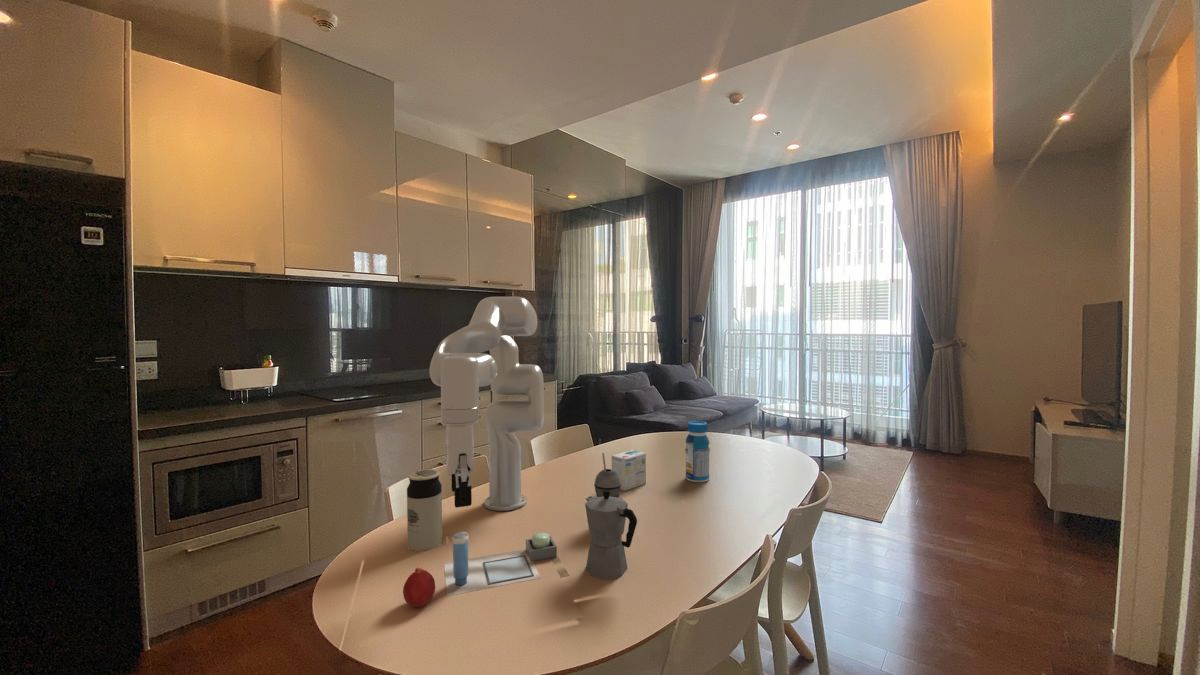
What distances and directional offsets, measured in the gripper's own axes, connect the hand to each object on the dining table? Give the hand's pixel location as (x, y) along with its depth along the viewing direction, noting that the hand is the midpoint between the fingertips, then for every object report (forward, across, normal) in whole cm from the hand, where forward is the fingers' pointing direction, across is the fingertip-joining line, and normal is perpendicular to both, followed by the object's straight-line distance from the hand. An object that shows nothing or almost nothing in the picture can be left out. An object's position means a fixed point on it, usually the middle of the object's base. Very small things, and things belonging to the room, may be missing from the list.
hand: (461, 497), depth 98 cm
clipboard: (+18, -3, +9) cm, 21 cm away
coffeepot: (+19, +6, +31) cm, 37 cm away
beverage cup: (+19, -16, +39) cm, 46 cm away
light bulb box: (+18, -45, +58) cm, 76 cm away
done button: (+16, -6, +18) cm, 25 cm away
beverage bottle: (+18, -42, +83) cm, 95 cm away
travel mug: (+19, -22, -7) cm, 30 cm away
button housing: (+18, -6, +18) cm, 26 cm away
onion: (+19, +5, -8) cm, 21 cm away
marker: (+18, 0, 0) cm, 18 cm away
